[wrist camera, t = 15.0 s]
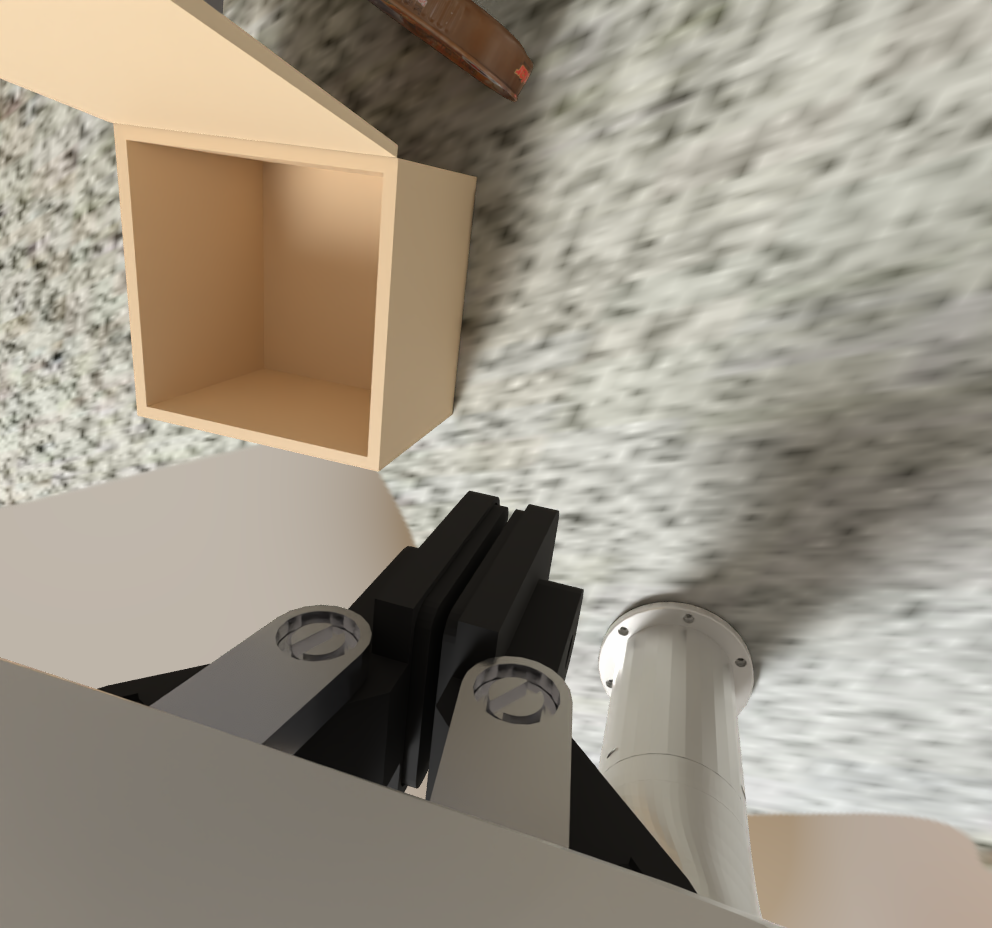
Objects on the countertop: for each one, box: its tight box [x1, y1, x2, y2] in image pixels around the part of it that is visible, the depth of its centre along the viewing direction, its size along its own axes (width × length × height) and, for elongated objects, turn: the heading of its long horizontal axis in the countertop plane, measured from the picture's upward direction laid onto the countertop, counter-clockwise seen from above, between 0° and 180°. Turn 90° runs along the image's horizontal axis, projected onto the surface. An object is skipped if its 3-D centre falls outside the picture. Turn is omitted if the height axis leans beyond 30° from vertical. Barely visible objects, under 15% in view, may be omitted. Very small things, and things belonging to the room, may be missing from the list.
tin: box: [368, 0, 533, 102], centre depth 41 cm, size 15×3×8 cm, turn 57°
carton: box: [113, 123, 477, 472], centre depth 46 cm, size 18×18×14 cm
